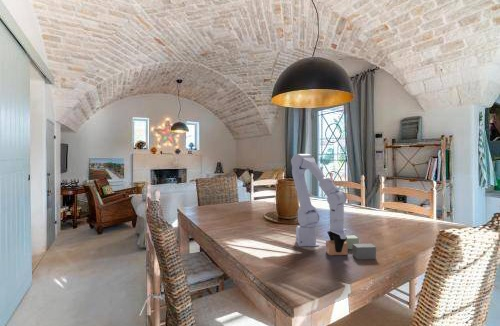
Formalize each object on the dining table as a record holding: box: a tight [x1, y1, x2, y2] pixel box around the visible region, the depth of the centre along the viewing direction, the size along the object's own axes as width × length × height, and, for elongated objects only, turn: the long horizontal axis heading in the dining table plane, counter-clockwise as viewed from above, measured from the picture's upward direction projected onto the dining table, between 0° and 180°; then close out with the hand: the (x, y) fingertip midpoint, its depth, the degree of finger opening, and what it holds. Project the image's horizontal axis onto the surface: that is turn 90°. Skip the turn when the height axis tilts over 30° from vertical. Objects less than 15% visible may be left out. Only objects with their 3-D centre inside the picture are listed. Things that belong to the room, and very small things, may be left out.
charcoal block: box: [352, 243, 377, 260], centre depth 104 cm, size 8×4×5 cm, turn 92°
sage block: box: [345, 234, 360, 250], centre depth 115 cm, size 8×4×5 cm, turn 92°
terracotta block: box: [325, 239, 349, 256], centre depth 108 cm, size 8×4×5 cm, turn 92°
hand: (336, 249), depth 108 cm, fingers closed on terracotta block, 4 cm apart
